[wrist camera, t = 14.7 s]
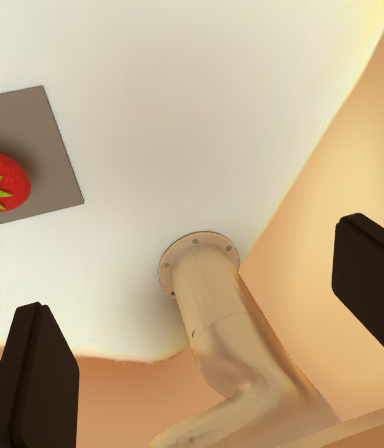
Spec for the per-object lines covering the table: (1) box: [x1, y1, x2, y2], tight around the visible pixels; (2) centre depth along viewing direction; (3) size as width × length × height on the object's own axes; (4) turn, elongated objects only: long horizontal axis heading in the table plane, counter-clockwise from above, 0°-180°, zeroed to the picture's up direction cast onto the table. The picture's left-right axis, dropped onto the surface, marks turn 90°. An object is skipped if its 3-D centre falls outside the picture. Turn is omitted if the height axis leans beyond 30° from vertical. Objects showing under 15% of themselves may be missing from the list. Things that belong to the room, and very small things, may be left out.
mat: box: [0, 86, 84, 224], centre depth 38 cm, size 14×14×1 cm
